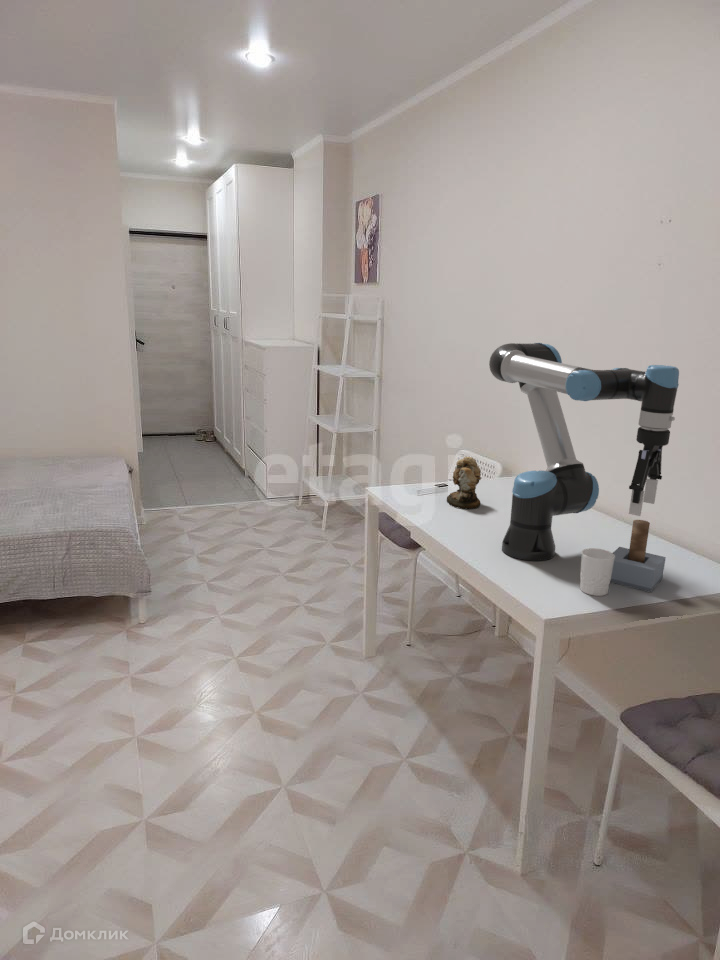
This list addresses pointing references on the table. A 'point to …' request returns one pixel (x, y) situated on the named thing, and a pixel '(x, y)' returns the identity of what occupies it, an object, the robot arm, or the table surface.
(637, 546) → the walnut dowel
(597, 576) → the white cup
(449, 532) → the table surface
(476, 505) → the brown stone bust
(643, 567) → the socket block
